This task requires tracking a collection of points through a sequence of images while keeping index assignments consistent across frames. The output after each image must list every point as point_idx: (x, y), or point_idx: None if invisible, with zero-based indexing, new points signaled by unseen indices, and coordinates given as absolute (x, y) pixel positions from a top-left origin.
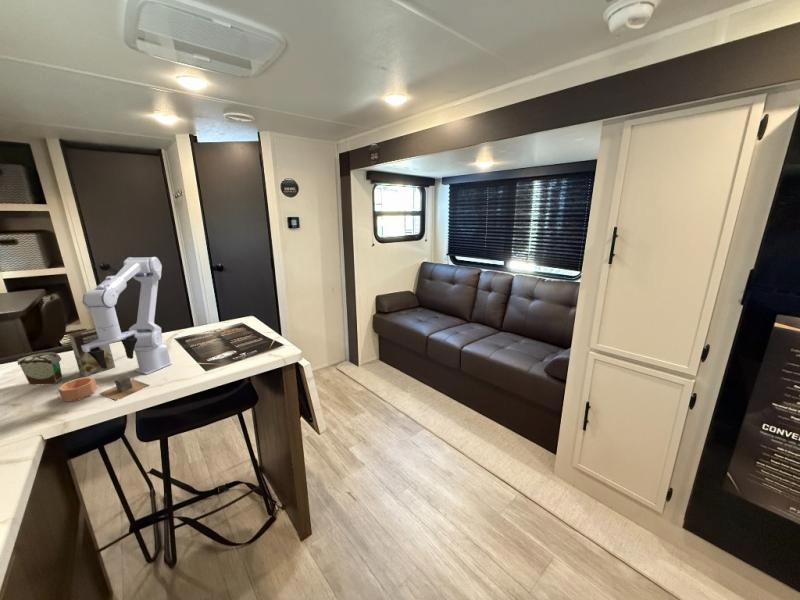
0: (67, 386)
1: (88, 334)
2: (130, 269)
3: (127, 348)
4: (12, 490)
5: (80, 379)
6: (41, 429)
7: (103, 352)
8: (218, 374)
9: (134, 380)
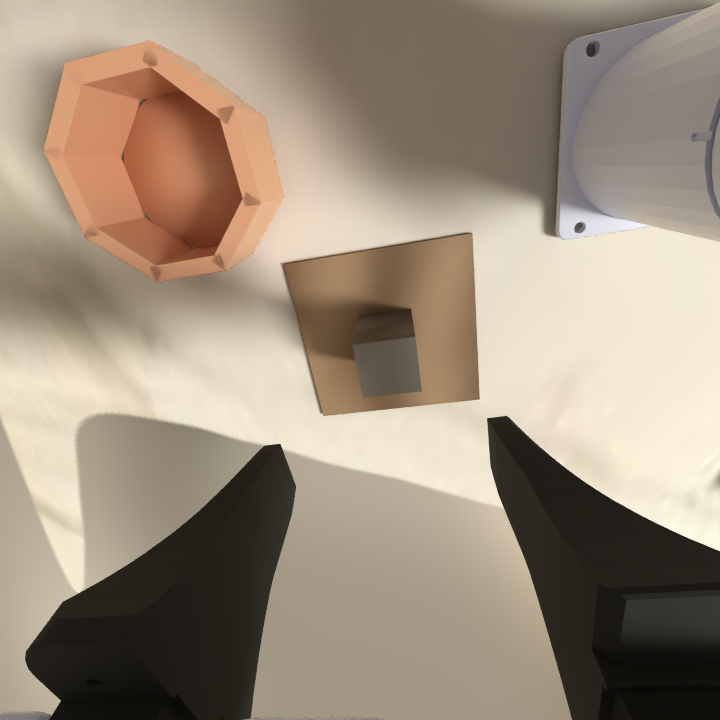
0: (105, 91)
1: None
2: None
3: (532, 542)
4: None
5: (177, 84)
6: (81, 402)
7: (245, 709)
8: None
9: (467, 263)
